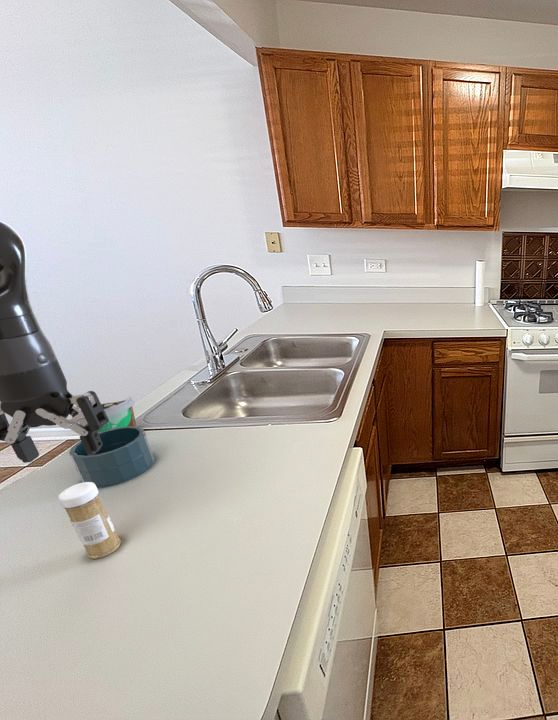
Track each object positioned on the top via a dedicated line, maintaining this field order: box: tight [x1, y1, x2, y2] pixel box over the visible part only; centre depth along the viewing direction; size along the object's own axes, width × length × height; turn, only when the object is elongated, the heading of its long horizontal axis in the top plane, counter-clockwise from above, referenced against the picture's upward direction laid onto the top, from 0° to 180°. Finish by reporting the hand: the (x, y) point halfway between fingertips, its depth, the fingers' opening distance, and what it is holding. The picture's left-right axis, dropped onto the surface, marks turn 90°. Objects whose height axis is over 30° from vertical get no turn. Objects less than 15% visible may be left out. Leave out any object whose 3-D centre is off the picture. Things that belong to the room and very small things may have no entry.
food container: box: [71, 395, 138, 433], centre depth 102 cm, size 12×6×10 cm, turn 129°
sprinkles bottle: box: [57, 482, 122, 560], centre depth 69 cm, size 5×5×13 cm
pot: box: [68, 426, 155, 489], centre depth 91 cm, size 13×13×8 cm
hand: (63, 455), depth 64 cm, fingers open, 8 cm apart
